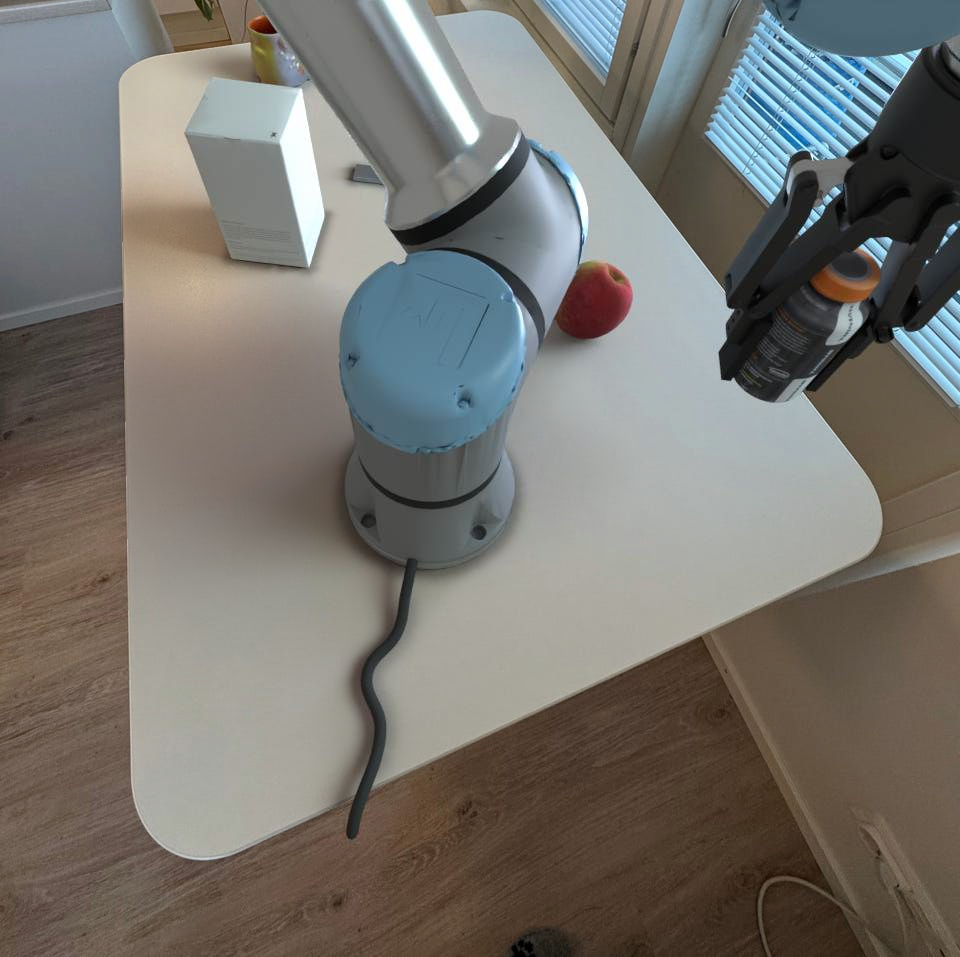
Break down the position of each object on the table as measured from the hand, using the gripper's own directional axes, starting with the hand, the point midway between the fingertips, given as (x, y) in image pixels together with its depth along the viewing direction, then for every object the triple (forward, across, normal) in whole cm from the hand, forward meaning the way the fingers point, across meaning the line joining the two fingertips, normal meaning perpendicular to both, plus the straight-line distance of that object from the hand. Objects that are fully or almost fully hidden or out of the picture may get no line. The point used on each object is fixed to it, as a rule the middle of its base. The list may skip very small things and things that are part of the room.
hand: (766, 371), depth 49 cm
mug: (+15, +51, -53) cm, 75 cm away
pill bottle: (0, 0, 0) cm, 0 cm away
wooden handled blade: (+15, +30, -35) cm, 48 cm away
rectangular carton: (+15, +46, -23) cm, 54 cm away
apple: (+15, +11, -15) cm, 24 cm away
